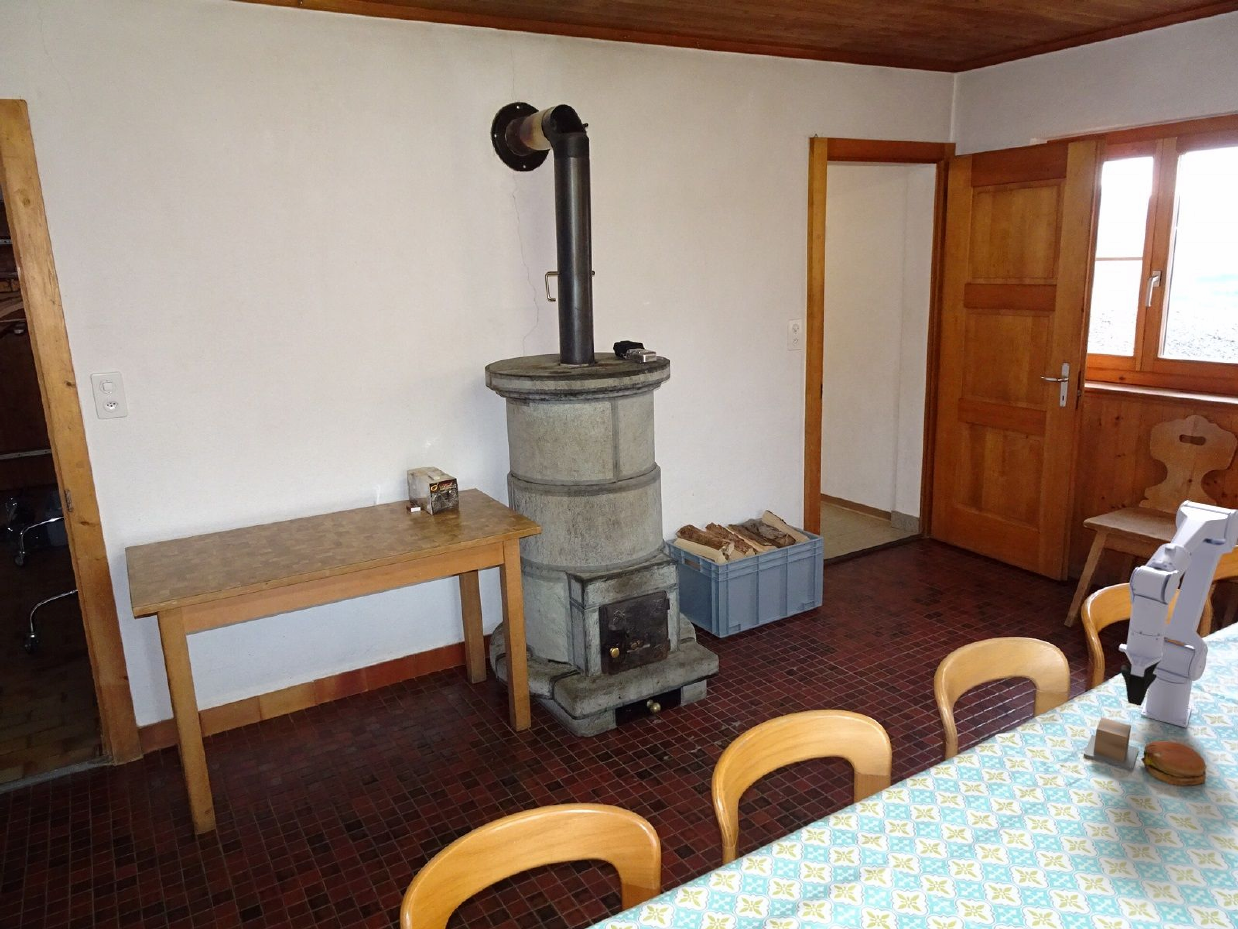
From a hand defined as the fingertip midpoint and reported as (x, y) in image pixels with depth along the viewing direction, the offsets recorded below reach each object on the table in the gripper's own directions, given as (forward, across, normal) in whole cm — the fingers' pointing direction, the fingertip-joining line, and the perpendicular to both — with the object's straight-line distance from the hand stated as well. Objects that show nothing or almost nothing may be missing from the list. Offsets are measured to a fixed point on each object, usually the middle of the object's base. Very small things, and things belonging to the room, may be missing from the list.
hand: (1137, 695), depth 165 cm
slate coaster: (+10, +6, -2) cm, 12 cm away
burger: (+11, +6, +8) cm, 14 cm away
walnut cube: (+10, +6, -3) cm, 12 cm away
